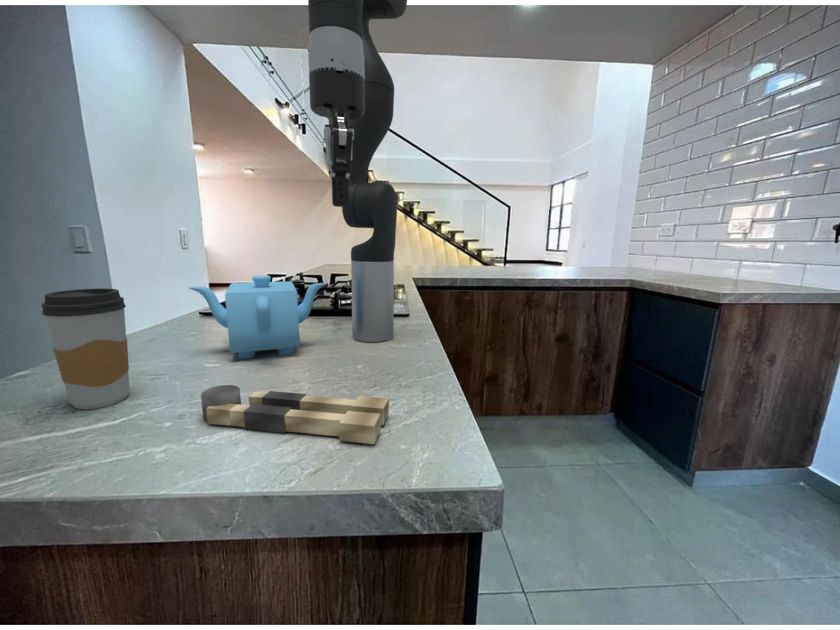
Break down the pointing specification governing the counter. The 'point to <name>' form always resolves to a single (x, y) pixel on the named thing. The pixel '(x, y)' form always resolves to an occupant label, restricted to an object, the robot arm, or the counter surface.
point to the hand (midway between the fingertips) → (340, 206)
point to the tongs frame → (286, 417)
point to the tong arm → (323, 403)
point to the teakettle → (261, 314)
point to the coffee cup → (89, 345)
